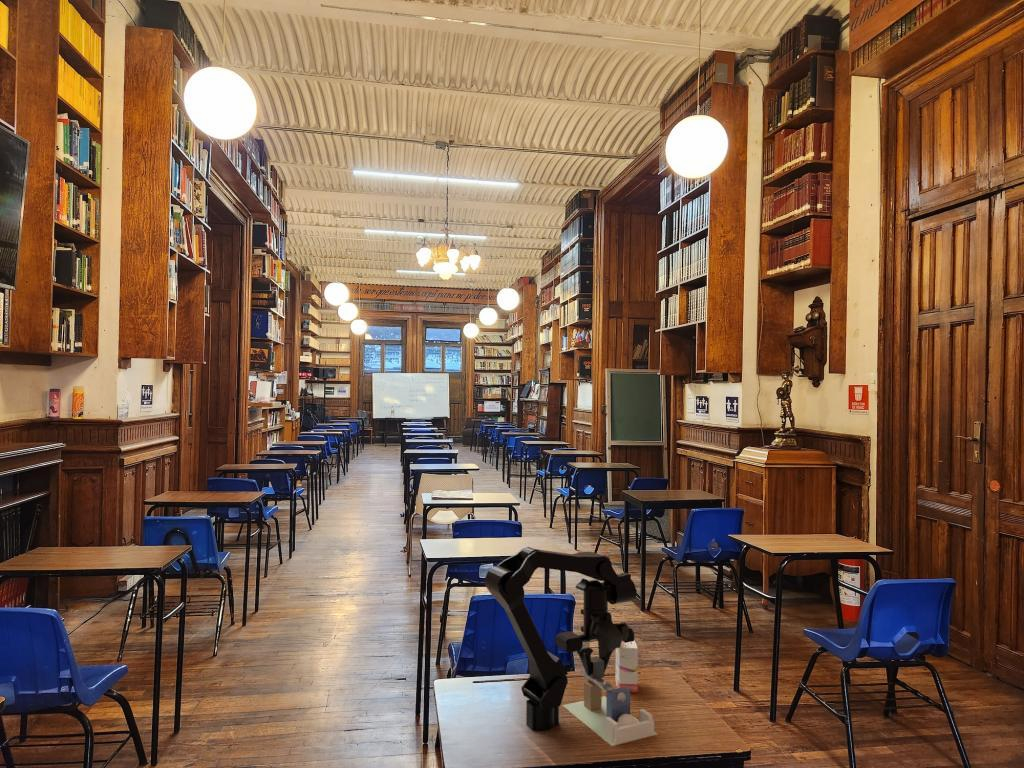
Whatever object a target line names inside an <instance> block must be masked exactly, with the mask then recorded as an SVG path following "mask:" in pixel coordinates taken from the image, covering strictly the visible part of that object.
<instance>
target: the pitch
mask: <svg viewBox="0 0 1024 768" xmlns="http://www.w3.org/2000/svg"><path fill="white" fill-rule="evenodd" d="M602 691H603V690H602V689H601V688H599V687H598V686H596V685H595V684H594V683H592V682H591V681H589V680H585V681H583V700H581V701H576V702H572V703H571V702H570V703H567V704H561V706H562V707H564V708H565V709H566V710H567V711H568V712H570V713H571V714H572V715H573V716H574V717H576V719H578V720H580V722H582V723H583V724H584V725H585V726H586V727H588V728H589V729H590V730H591V731H593V732H594V733H595V734H596V735H598V736H599V737H600V738H601V739H602V740H604V741H605V742H606V743H607V744H608V745H610V746H611V747H615V746H618V745H619V744H617V745H615V744H614V743H613V742H612V741H610V740H609V739H608V738H607V737H605V718H606V696H605V695H603V696H602V693H603V692H602ZM630 715H631V714H630ZM631 716H632V717H633V718H634V719H635V722H636V723H637V722H639V719H638V718H636V717H635V716H633V715H631ZM658 735H659V734H658V733H657V732H656V731H654V735H653V736H658ZM653 736H652V737H653ZM650 737H651V736H649V737H648V738H650ZM645 738H647V737H645ZM645 738H644V739H645ZM641 739H643V738H641ZM641 739H640V740H641ZM637 740H639V739H637ZM637 740H636V741H637ZM634 741H635V740H633V741H632V742H634ZM629 742H631V741H629ZM629 742H628V743H629ZM626 743H627V742H625V743H624V744H626ZM622 744H623V743H621V744H620V745H622Z"/></svg>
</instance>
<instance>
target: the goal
mask: <svg viewBox="0 0 1024 768" xmlns="http://www.w3.org/2000/svg"><path fill="white" fill-rule="evenodd" d="M638 714H639V719H638V720H639V722H637V723H633V724H629V725H625V726H621V727H618V723H617V722H615V721H614V720H613V719H612V718H610V717H606V718H605V737H607V738H608V739H609V740H610V741H612V742H613V743H614V744H615V745H614V746H618V745H622V744H626V743H629V741H630V742H634V741H637V739H638V740H641V738H642V739H645V737H646V738H650V737H653V735H654V732H655V720H654V715H653V714H652V713H650V712H648V711H647V710H646V709H644V708H641V709H639V713H638ZM649 736H650V737H649ZM654 736H655V735H654ZM633 740H634V741H633ZM625 742H626V743H625ZM621 743H622V744H621ZM617 744H618V745H617Z"/></svg>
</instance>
